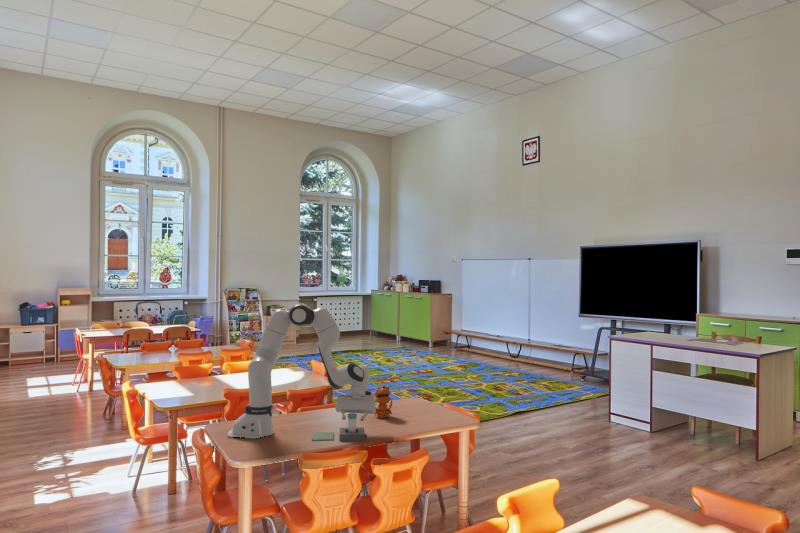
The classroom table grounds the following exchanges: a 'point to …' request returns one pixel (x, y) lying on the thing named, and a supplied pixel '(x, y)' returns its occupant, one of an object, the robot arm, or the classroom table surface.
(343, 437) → the grey square base
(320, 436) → the service mat
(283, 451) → the classroom table surface
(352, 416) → the filter cartridge
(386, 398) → the brown plush toy
